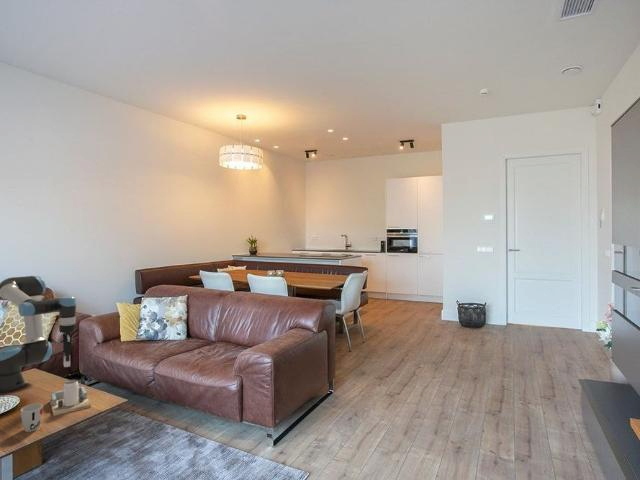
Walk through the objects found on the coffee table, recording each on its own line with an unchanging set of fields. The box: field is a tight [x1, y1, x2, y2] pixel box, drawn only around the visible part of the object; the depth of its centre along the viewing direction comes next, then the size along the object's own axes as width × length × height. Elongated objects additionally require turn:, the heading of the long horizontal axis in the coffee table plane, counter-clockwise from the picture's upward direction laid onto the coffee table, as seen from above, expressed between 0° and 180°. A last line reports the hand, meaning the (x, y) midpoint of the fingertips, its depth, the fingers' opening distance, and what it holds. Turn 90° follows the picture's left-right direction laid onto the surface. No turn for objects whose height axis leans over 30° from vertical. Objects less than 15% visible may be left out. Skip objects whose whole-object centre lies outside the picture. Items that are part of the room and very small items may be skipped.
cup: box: [20, 403, 44, 433], centre depth 174 cm, size 8×8×10 cm
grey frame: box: [50, 385, 88, 405], centre depth 203 cm, size 11×15×3 cm
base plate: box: [49, 393, 92, 417], centre depth 199 cm, size 20×16×4 cm
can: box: [63, 379, 79, 407], centre depth 196 cm, size 6×6×12 cm
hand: (66, 365), depth 211 cm, fingers open, 3 cm apart
